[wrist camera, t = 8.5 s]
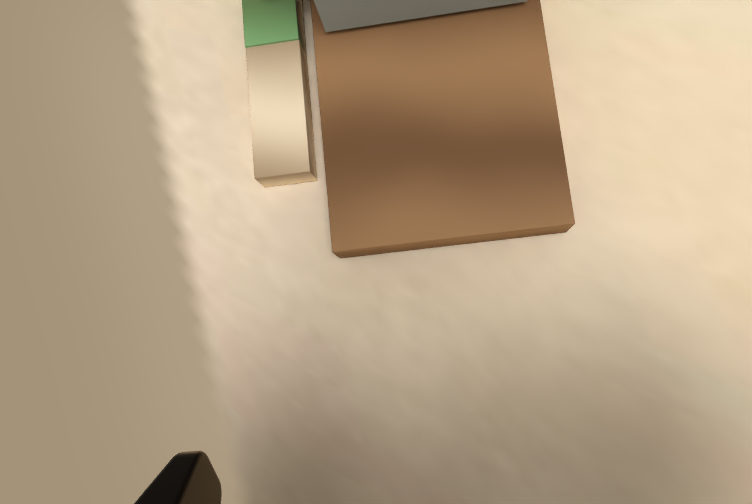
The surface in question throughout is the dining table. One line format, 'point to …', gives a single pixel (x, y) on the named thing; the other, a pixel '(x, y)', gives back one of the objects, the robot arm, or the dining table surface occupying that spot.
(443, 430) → the dining table surface
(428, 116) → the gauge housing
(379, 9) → the gauge carriage
